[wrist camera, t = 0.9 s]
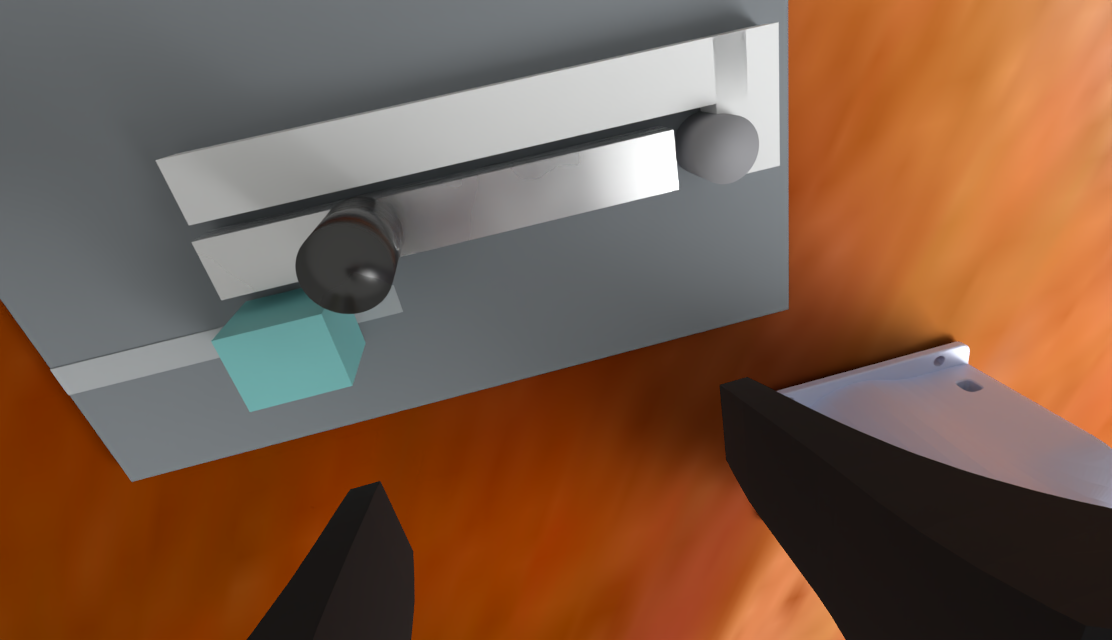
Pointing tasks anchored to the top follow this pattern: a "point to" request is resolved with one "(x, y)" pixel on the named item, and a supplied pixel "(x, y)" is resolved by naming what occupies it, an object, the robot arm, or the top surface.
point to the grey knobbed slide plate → (372, 190)
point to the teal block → (288, 349)
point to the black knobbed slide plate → (429, 219)
